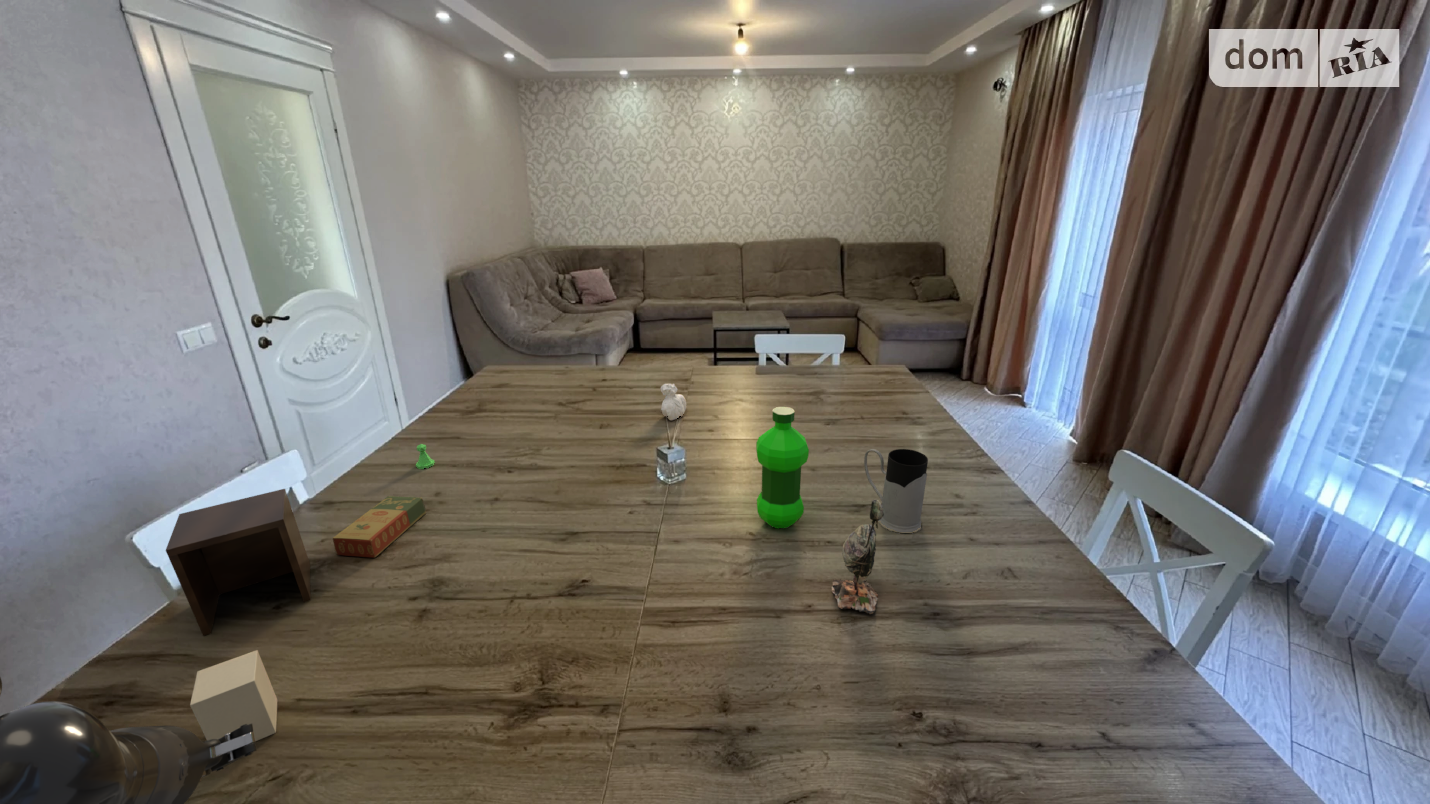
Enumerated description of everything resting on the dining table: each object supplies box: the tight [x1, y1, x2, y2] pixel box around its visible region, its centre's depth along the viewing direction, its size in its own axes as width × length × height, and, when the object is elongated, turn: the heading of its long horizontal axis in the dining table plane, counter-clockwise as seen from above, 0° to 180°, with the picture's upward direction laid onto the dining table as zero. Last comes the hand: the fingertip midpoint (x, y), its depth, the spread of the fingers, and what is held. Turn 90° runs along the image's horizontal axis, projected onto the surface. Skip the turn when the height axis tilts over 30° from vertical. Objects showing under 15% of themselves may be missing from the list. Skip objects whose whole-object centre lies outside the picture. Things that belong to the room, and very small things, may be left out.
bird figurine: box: [831, 498, 884, 615], centre depth 91 cm, size 8×11×20 cm
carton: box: [332, 495, 427, 558], centre depth 111 cm, size 8×16×4 cm, turn 173°
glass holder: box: [863, 448, 929, 532], centre depth 114 cm, size 9×14×15 cm, turn 39°
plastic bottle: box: [755, 406, 810, 529], centre depth 110 cm, size 10×10×25 cm
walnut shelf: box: [165, 488, 312, 637], centre depth 92 cm, size 14×12×16 cm
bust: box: [660, 382, 687, 421], centre depth 168 cm, size 12×8×11 cm
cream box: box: [189, 649, 278, 742], centre depth 70 cm, size 6×6×9 cm
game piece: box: [415, 443, 436, 470], centre depth 139 cm, size 4×4×6 cm
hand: (199, 766), depth 55 cm, fingers closed
